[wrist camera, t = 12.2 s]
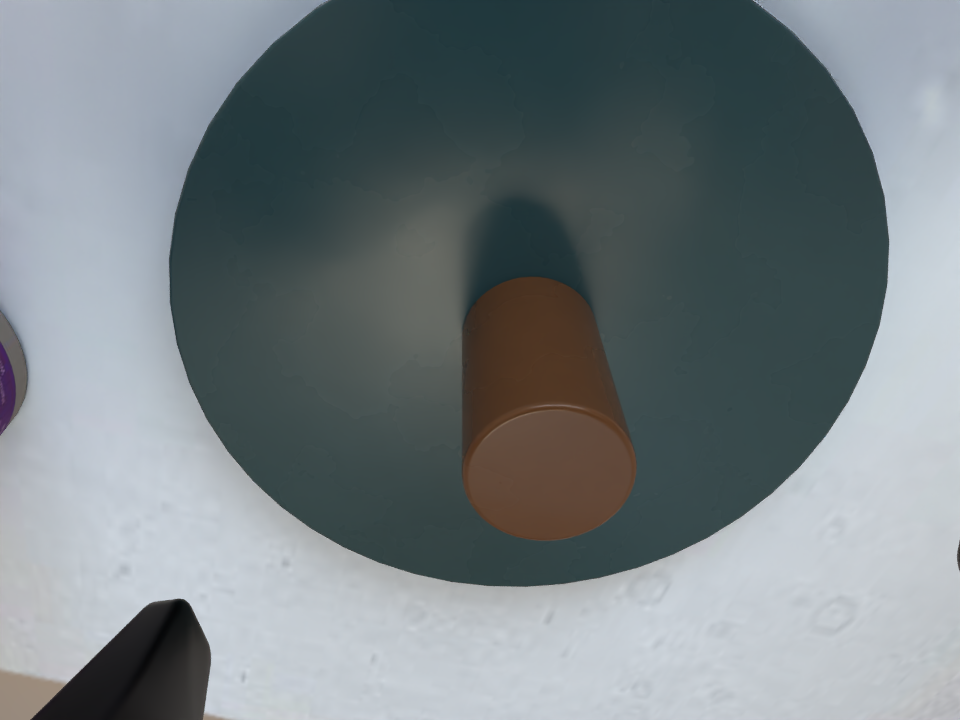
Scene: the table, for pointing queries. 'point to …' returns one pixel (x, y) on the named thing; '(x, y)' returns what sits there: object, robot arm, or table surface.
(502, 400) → the pan lid
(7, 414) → the container
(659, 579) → the table surface
